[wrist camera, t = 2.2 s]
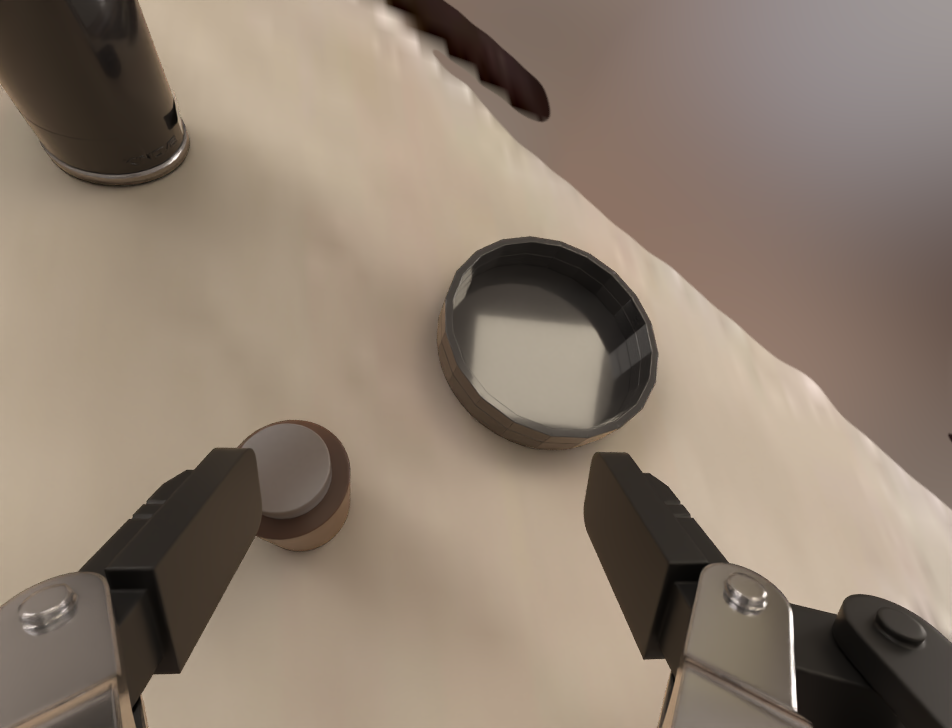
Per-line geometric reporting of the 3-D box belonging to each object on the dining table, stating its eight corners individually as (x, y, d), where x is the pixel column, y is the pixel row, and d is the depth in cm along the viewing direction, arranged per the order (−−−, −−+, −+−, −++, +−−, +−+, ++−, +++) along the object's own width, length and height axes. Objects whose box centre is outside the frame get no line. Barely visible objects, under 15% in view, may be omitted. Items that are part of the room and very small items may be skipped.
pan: (391, 355, 33) (395, 333, 30) (508, 231, 41) (521, 204, 38) (578, 497, 32) (603, 489, 29) (660, 341, 40) (686, 322, 37)
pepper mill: (239, 515, 26) (176, 479, 16) (304, 447, 29) (281, 381, 19) (307, 570, 26) (283, 566, 16) (367, 496, 28) (376, 455, 19)
